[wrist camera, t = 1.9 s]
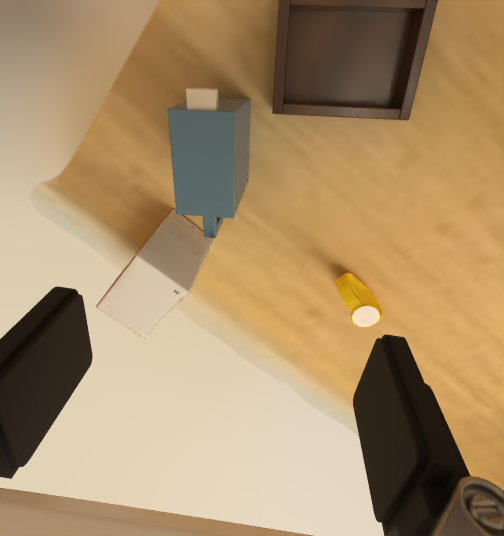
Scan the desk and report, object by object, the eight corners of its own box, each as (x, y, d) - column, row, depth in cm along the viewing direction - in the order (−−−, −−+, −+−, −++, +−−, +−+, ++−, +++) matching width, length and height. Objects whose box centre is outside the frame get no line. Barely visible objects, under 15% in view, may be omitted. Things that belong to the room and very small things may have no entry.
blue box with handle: (250, 83, 31) (234, 90, 22) (247, 204, 36) (233, 247, 28) (200, 81, 31) (165, 87, 22) (205, 201, 37) (178, 243, 28)
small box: (174, 207, 37) (136, 252, 28) (215, 239, 39) (191, 292, 30) (137, 254, 41) (92, 308, 32) (175, 282, 42) (143, 341, 33)
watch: (328, 275, 40) (333, 306, 35) (347, 260, 39) (355, 290, 33) (362, 306, 41) (372, 339, 36) (382, 292, 40) (395, 325, 35)
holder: (425, 1, 27) (439, -6, 24) (399, 115, 31) (408, 120, 28) (280, -3, 27) (279, -10, 25) (274, 109, 32) (272, 113, 29)
